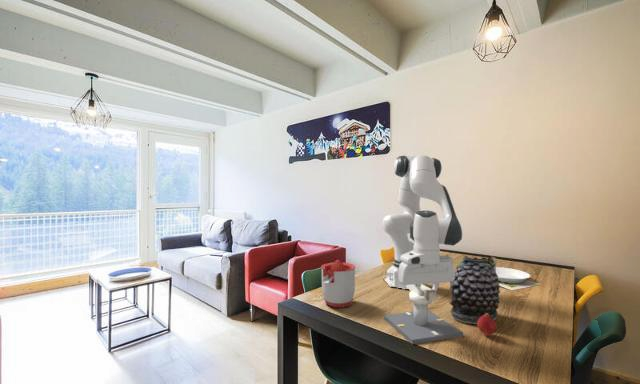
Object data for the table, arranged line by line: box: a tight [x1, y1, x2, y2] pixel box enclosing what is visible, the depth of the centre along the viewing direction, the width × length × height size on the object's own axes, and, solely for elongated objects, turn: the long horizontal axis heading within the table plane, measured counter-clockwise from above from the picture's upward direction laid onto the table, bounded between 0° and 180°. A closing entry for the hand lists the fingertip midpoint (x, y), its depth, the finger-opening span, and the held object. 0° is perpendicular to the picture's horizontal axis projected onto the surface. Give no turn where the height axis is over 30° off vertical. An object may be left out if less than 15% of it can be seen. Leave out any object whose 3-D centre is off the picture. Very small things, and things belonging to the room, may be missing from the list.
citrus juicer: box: [320, 259, 356, 308], centre depth 130 cm, size 16×17×20 cm
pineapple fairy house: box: [448, 255, 501, 325], centre depth 114 cm, size 21×15×25 cm
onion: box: [476, 313, 498, 337], centre depth 100 cm, size 6×6×8 cm
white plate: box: [496, 266, 531, 284], centre depth 166 cm, size 25×25×4 cm
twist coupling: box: [406, 284, 438, 306], centre depth 107 cm, size 15×8×6 cm, turn 14°
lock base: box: [383, 303, 464, 345], centre depth 107 cm, size 20×20×10 cm
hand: (427, 295), depth 103 cm, fingers open, 3 cm apart
